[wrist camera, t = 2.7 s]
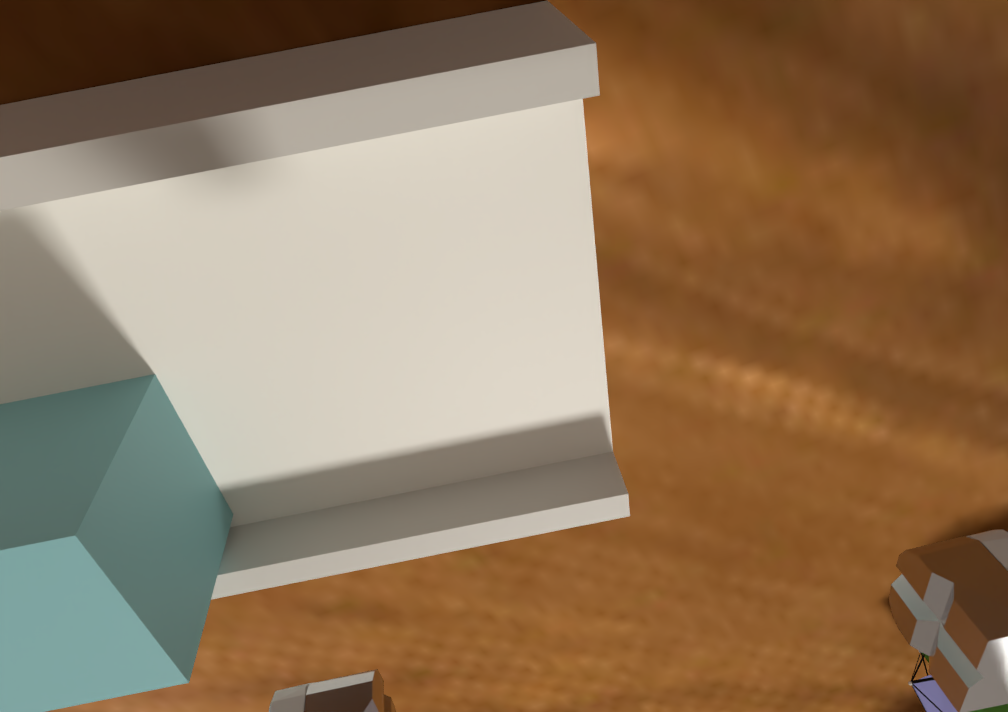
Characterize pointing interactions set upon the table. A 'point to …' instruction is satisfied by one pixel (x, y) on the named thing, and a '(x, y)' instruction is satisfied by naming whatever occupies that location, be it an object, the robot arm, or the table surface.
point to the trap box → (333, 284)
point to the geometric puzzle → (939, 694)
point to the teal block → (102, 545)
